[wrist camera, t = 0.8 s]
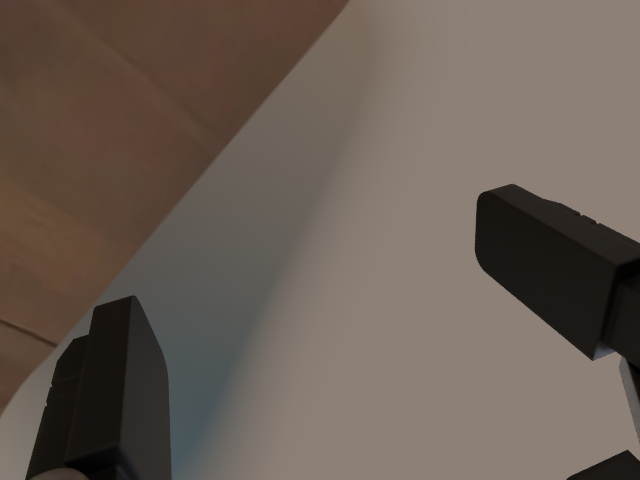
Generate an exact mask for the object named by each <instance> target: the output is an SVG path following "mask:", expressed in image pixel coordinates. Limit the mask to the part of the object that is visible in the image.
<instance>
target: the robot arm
mask: <svg viewBox="0 0 640 480" xmlns="http://www.w3.org/2000/svg"><path fill="white" fill-rule="evenodd" d="M475 254H476V257H477V260H478V263H479V264H480V266H481V267H482V269H483V270H484V271H485V272H486V273H487V274H488V275H490V276H491V277H492V278H493V279H494V280H495V281H497V282H498V283H499V284H500V285H501V286H503V287H504V288H505V289H506V290H507V291H509V292H510V293H511V294H512V295H514V296H515V297H516V298H517V299H518V300H520V301H521V302H522V303H523V304H524V305H526V306H527V307H528V308H529V309H530V310H532V311H533V312H534V313H535V314H536V315H538V316H539V317H540V318H541V319H543V320H544V321H545V322H546V323H547V324H548V325H550V326H551V327H552V328H553V329H554V330H556V331H557V332H558V333H559V334H561V335H562V336H563V337H564V338H565V339H567V340H568V341H569V342H570V343H571V344H573V345H574V346H575V347H576V348H577V349H579V350H580V351H581V352H582V353H584V354H585V355H586V356H587V357H588V358H589V359H591V360H592V361H593V360H596V359H598V358H601V357H603V356H606V355H608V354H611V353H613V352H615V351H616V352H617V353H619V354H620V355H622V358H621V362H620V366H619V369H620V374H621V378H622V381H623V385H624V389H625V392H626V396H627V399H628V403H629V407H630V410H631V414H632V417H633V421H634V425H635V428H636V432H637V436H638V439H639V443H640V243H638V242H636V241H634V240H632V239H630V238H628V237H626V236H624V235H622V234H620V233H618V232H616V231H614V230H612V229H610V228H609V227H607V226H605V225H602V224H601V223H599V224H597V223H596V221H595V220H593V219H591V218H589V217H587V216H585V215H583V216H581V215H580V213H579V212H577V211H575V210H573V209H571V208H569V207H567V206H565V205H563V204H561V203H557V202H553V201H549V200H546V199H542V198H540V197H538V196H536V195H534V194H533V193H531V192H528V191H527V190H525V189H523V188H521V187H519V186H517V185H515V184H509V185H506V186H502V187H499V188H496V189H493V190H489V191H486V192H483V193H481V194H480V195H479V197H478V200H477V212H476V234H475ZM51 383H52V387H50V390H49V393H48V397H47V401H46V402H47V406H45V408H44V412H43V416H42V419H41V423H40V427H39V430H38V434H37V438H36V441H35V445H34V449H33V452H32V456H31V460H30V463H29V468H28V471H27V475H26V479H25V480H172V478H171V451H170V450H171V448H170V417H169V389H168V388H169V387H168V372H167V367H166V363H165V359H164V356H163V353H162V350H161V348H160V346H159V344H158V341H157V339H156V337H155V335H154V333H153V330H152V328H151V326H150V324H149V321H148V319H147V317H146V315H145V313H144V310H143V308H142V306H141V304H140V302H139V301H138V299H137V297H136V296H134V295H133V296H129V297H126V298H122V299H119V300H115V301H112V302H109V303H105V304H102V305H99V306H96V307H95V308H94V311H93V317H92V321H91V326H90V331H89V335H86V336H82V337H79V338H76V339H73V341H72V342H71V343H70V345H69V346H68V348H67V349H66V350H65V351H64V353H63V354H62V355H61V357H60V358H59V359H58V361H57V364H56V368H55V371H54V375H53V379H52V382H51ZM567 480H640V461H639V460H638V459H637V458H636V457H635V456H634V455H633V454H632V453H631V452H629V451H628V450H626V451H624V452H622V453H620V454H617V455H615V456H613V457H611V458H609V459H607V460H604V461H602V462H600V463H598V464H596V465H594V466H591V467H590V468H588V469H585V470H583V471H581V472H579V473H576V474H574V475H572V476H570V477H569V478H568V479H567Z"/></svg>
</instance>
